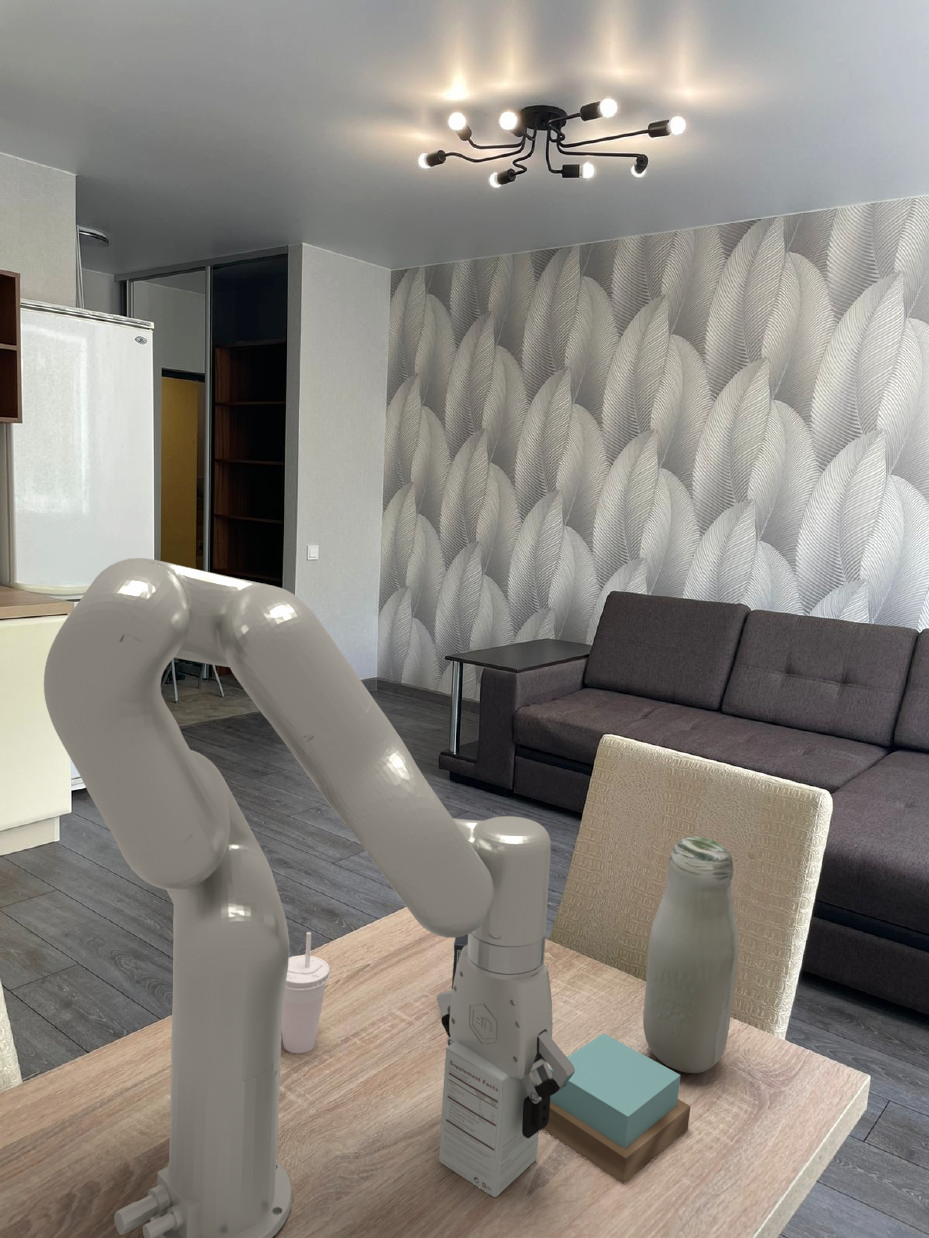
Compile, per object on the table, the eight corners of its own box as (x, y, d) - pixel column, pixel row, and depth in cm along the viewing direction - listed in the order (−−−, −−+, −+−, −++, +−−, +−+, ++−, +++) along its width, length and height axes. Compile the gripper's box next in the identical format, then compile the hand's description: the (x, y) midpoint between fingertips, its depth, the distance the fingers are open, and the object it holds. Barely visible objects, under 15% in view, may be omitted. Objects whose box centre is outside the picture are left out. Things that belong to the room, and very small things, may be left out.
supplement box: (481, 1125, 98) (489, 1015, 97) (538, 1160, 94) (548, 1045, 92) (435, 1161, 93) (443, 1045, 91) (494, 1201, 88) (503, 1079, 86)
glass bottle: (734, 1057, 114) (759, 840, 110) (706, 1100, 105) (733, 866, 101) (658, 1027, 119) (679, 819, 115) (625, 1066, 110) (648, 842, 106)
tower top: (624, 1148, 92) (628, 1116, 92) (546, 1098, 99) (549, 1068, 99) (677, 1104, 100) (680, 1074, 99) (600, 1061, 106) (603, 1032, 106)
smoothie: (331, 1055, 109) (337, 943, 107) (277, 1064, 106) (281, 950, 104) (319, 1024, 115) (324, 918, 113) (267, 1032, 112) (271, 924, 110)
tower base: (622, 1190, 92) (625, 1157, 91) (530, 1126, 100) (533, 1096, 99) (687, 1135, 100) (690, 1105, 100) (597, 1080, 108) (600, 1053, 108)
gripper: (417, 925, 93) (411, 1080, 96) (550, 996, 81) (540, 1171, 84) (469, 903, 99) (462, 1050, 101) (601, 967, 87) (590, 1132, 89)
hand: (497, 1105), depth 93 cm, fingers open, 9 cm apart
